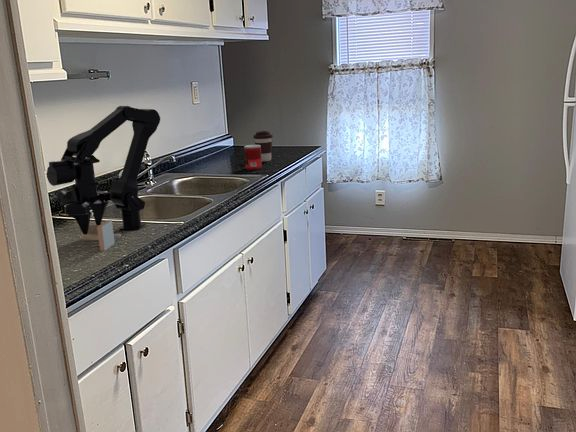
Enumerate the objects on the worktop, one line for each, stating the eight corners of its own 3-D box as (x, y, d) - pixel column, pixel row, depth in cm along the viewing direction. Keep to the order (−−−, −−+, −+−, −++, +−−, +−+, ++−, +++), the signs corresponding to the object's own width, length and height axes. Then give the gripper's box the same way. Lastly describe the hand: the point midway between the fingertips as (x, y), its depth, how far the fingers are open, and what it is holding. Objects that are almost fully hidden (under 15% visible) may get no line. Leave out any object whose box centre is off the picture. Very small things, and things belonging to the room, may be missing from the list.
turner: (87, 236, 181) (85, 224, 180) (121, 236, 180) (119, 223, 179) (80, 241, 176) (78, 228, 175) (115, 241, 175) (113, 228, 174)
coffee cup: (271, 162, 299) (270, 132, 295) (252, 162, 301) (251, 133, 297) (275, 158, 309) (274, 130, 305) (257, 159, 310) (255, 130, 307)
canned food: (265, 167, 284) (263, 145, 281) (253, 170, 279) (251, 147, 276) (254, 166, 289) (253, 144, 287) (242, 168, 284) (240, 146, 281)
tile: (109, 243, 173) (106, 220, 171) (114, 243, 173) (111, 220, 171) (100, 250, 166) (96, 227, 164) (105, 250, 166) (102, 226, 164)
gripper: (73, 174, 183) (80, 222, 187) (43, 186, 165) (51, 239, 169) (107, 173, 182) (113, 221, 186) (81, 185, 164) (88, 239, 168)
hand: (92, 229), depth 177 cm, fingers open, 9 cm apart
